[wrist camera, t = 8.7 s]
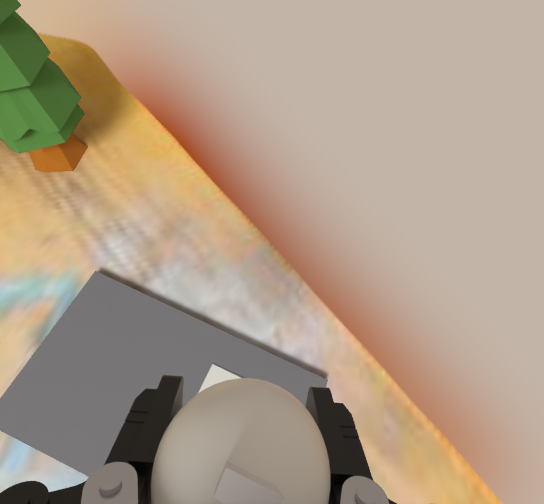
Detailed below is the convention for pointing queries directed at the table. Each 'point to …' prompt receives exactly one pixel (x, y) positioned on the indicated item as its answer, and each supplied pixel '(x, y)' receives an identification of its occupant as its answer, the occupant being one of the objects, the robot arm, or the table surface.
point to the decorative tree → (35, 98)
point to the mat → (123, 370)
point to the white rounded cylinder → (241, 449)
